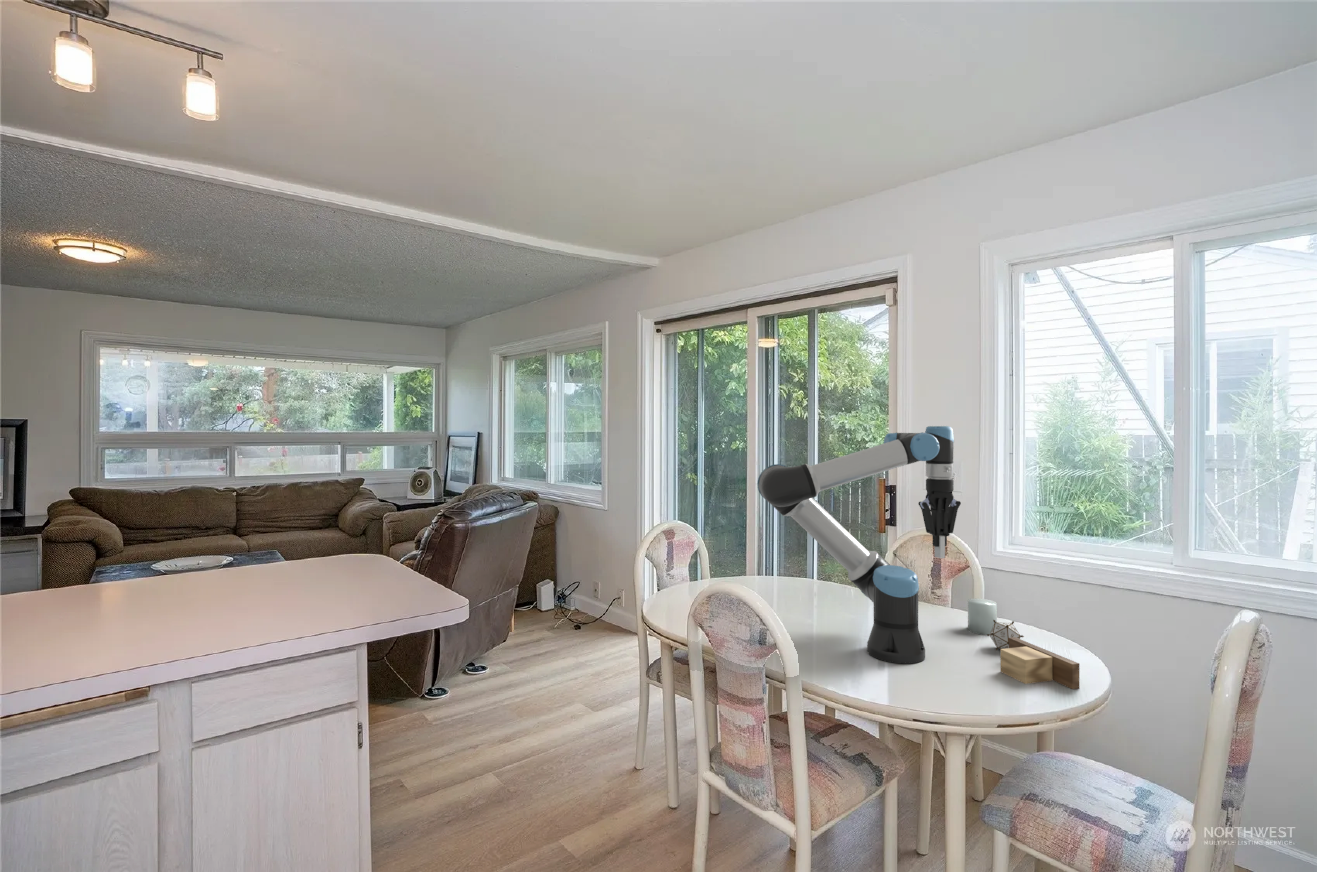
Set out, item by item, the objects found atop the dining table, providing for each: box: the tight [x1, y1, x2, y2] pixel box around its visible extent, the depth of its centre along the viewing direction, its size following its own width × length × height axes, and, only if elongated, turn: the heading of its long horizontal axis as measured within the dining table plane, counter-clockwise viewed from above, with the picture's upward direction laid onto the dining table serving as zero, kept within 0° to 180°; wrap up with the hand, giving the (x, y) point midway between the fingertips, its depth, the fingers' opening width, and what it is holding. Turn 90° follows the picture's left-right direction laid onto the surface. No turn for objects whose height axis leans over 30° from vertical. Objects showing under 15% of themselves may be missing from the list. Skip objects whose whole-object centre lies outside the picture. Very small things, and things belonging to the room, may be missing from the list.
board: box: [1009, 637, 1080, 690], centre depth 161 cm, size 2×20×6 cm, turn 13°
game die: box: [986, 620, 1025, 651], centre depth 178 cm, size 9×8×10 cm
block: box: [1000, 646, 1053, 685], centre depth 159 cm, size 8×8×6 cm
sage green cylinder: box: [967, 597, 998, 636], centre depth 195 cm, size 8×8×9 cm
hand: (939, 557), depth 187 cm, fingers closed
